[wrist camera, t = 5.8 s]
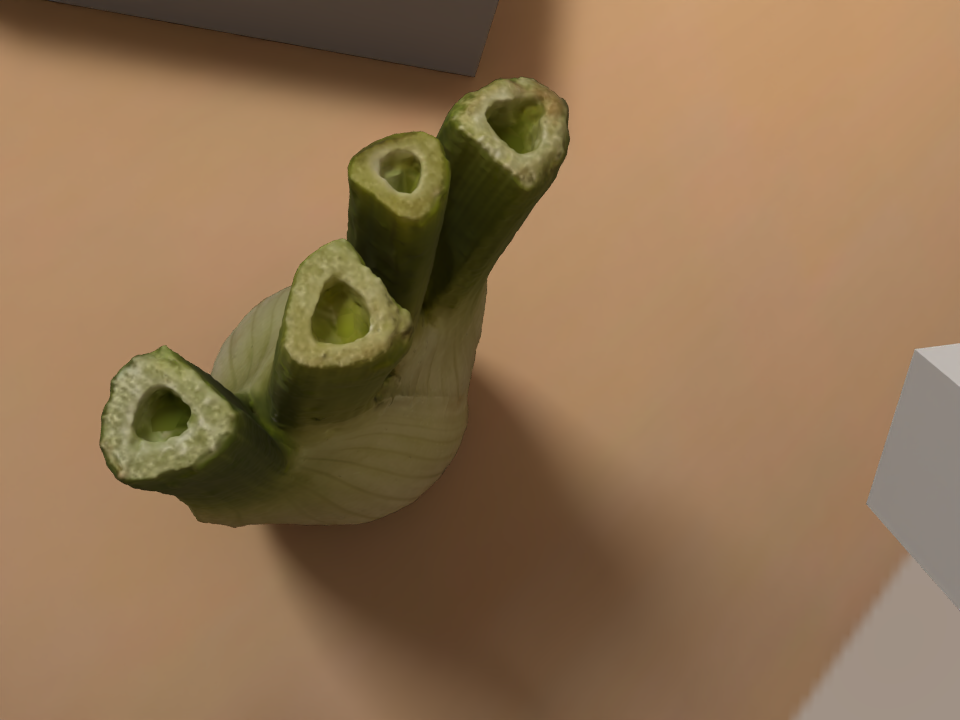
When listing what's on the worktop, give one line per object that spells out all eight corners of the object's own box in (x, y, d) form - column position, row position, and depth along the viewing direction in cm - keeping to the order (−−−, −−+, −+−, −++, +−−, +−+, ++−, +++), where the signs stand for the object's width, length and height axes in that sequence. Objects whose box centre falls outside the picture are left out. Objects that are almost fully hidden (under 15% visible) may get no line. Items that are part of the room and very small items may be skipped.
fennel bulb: (232, 566, 19) (99, 566, 8) (176, 344, 20) (-22, 38, 8) (493, 487, 20) (722, 384, 9) (431, 282, 21) (565, -59, 10)
